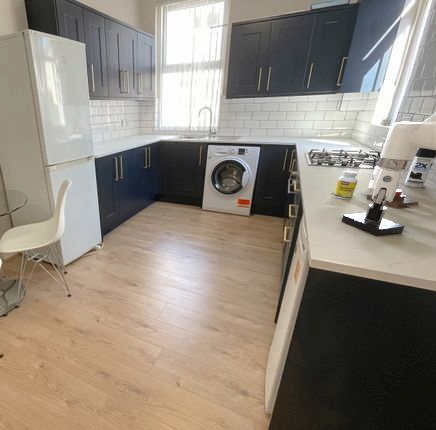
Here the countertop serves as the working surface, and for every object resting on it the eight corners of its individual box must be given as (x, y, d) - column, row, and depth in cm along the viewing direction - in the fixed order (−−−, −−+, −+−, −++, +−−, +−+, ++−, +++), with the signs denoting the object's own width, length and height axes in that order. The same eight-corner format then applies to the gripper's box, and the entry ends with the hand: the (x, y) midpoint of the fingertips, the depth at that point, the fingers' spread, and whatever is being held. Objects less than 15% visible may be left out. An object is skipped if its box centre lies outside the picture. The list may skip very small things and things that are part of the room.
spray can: (402, 187, 138) (418, 146, 130) (403, 184, 142) (419, 144, 134) (421, 190, 133) (439, 147, 125) (422, 187, 137) (440, 146, 130)
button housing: (416, 207, 112) (420, 197, 111) (396, 208, 110) (400, 199, 109) (384, 197, 123) (388, 189, 122) (366, 199, 121) (369, 190, 120)
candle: (364, 187, 137) (375, 157, 132) (381, 188, 135) (392, 157, 130) (370, 191, 132) (382, 159, 126) (388, 192, 130) (400, 160, 124)
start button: (403, 195, 114) (405, 191, 113) (395, 196, 113) (397, 191, 112) (392, 193, 118) (394, 188, 117) (384, 193, 117) (386, 188, 116)
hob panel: (401, 233, 90) (404, 226, 89) (376, 236, 88) (379, 228, 87) (364, 219, 101) (366, 212, 100) (341, 221, 99) (343, 214, 98)
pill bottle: (331, 197, 124) (339, 171, 120) (335, 194, 128) (343, 169, 123) (349, 200, 119) (358, 174, 115) (353, 197, 123) (362, 171, 119)
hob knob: (374, 217, 96) (379, 203, 94) (384, 223, 92) (390, 208, 89) (360, 217, 96) (365, 203, 94) (371, 222, 92) (376, 207, 90)
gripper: (408, 170, 79) (385, 229, 85) (412, 162, 89) (391, 214, 96) (373, 166, 84) (354, 221, 91) (381, 158, 94) (363, 209, 101)
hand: (373, 217), depth 93 cm, fingers closed on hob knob, 4 cm apart
